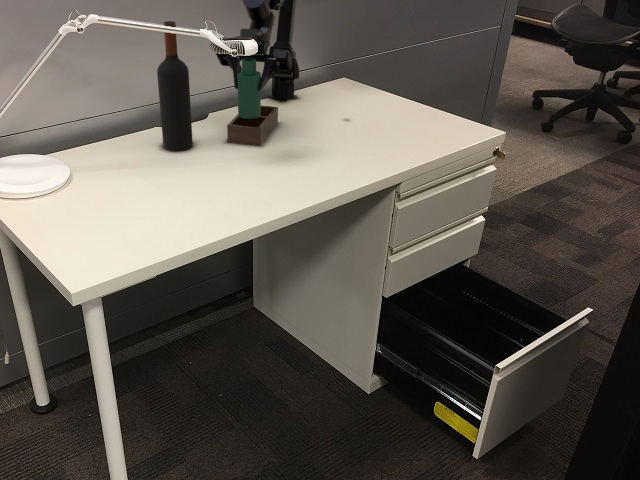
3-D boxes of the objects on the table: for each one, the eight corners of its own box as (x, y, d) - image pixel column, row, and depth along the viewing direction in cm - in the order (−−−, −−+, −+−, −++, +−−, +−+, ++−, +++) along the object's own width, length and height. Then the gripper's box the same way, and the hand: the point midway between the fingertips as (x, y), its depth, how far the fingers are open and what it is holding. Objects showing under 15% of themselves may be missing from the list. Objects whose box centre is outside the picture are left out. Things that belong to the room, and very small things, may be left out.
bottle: (235, 112, 174) (233, 57, 166) (255, 109, 175) (255, 55, 167) (242, 120, 169) (242, 64, 161) (264, 117, 171) (264, 61, 163)
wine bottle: (157, 148, 171) (146, 24, 153) (173, 138, 176) (164, 17, 159) (182, 153, 168) (174, 27, 150) (198, 143, 173) (191, 20, 156)
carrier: (247, 120, 187) (247, 103, 184) (277, 123, 184) (278, 106, 182) (227, 142, 173) (227, 125, 171) (260, 145, 171) (260, 128, 168)
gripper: (217, 11, 164) (203, 69, 162) (290, 15, 159) (277, 75, 157) (228, 36, 175) (215, 92, 173) (297, 41, 170) (285, 98, 168)
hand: (247, 89), depth 167 cm, fingers closed on bottle, 6 cm apart
